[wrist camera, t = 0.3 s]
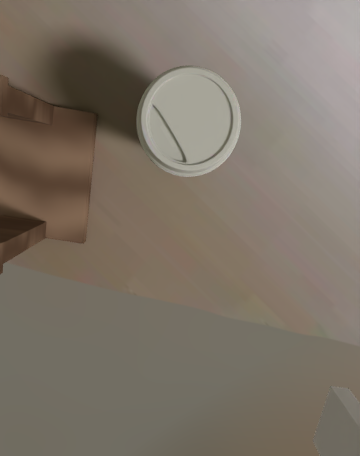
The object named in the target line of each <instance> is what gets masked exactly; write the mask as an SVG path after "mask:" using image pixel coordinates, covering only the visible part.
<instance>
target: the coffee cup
mask: <svg viewBox="0 0 360 456" xmlns="http://www.w3.org/2000/svg"><path fill="white" fill-rule="evenodd" d="M136 126H137V133H138V138H139V141H140V143H141V146H142V148H143V150H144V151H145V153H146V154H147V156H148V157H149V158H150V159H151V161H152V162H153V163H154V164H156V165H157V166H158V167H160V168H161V169H163V170H164V171H166V172H168V173H171V174H174V175H178V176H184V177H192V176H199V175H203V174H206V173H208V172H210V171H212V170H214V169H216V168H217V167H218V166H220V165H221V164H222V163H223V162H224V161H225V160H226V159H227V158H228V157H229V155H230V154H231V152H232V151H233V149H234V147H235V145H236V143H237V140H238V137H239V133H240V127H241V113H240V108H239V104H238V101H237V98H236V96H235V94H234V92H233V90H232V89H231V87H230V86H229V85H228V84H227V83H226V81H225V80H224V79H222V78H221V77H220V76H219V75H217V74H216V73H214V72H212V71H210V70H208V69H206V68H202V67H198V66H180V67H176V68H173V69H170V70H168V71H166V72H164V73H162V74H161V75H159V76H158V77H157V78H156V79H155V80H154V81H152V83H151V84H150V85H149V86H148V87H147V89H146V90H145V92H144V94H143V96H142V98H141V100H140V103H139V106H138V110H137V118H136Z"/></svg>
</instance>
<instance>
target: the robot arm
mask: <svg viewBox="0 0 360 456" xmlns="http://www.w3.org/2000/svg"><path fill="white" fill-rule="evenodd" d="M313 442H314V444H315V446H316V448H317V450H318V452H319V454H320V456H360V403H359V401H358V400H357V399H356V397H355V396H354V395H353V393H352V392H351V391H350V390H349V388H342V387H334V386H330V389H329V392H328V396H327V399H326V402H325V405H324V408H323V411H322V414H321V417H320V420H319V424H318V426H317V429H316V433H315V436H314V439H313Z"/></svg>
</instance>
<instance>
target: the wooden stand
mask: <svg viewBox="0 0 360 456" xmlns="http://www.w3.org/2000/svg"><path fill="white" fill-rule="evenodd" d="M97 116H98V115H97V114H96V113H90V112H84V111H79V110H73V109H67V108H61V107H55V106H52V105H50V104H48V103H46V102H43V101H41V100H39V99H37V98H35V97H32V96H30V95H28V94H26V93H23V92H21V91H19V90H17V89H15V88H12V87H10V86H8V78H7V77H5V76H3V75H0V274H1V273H2V272H3V263H5V262H7V261H8V260H10V259H12V258H13V257H15V256H17V255H18V254H20V253H22V252H23V251H25V250H27V249H28V248H30V247H31V246H33V245H35V244H36V243H38V242H40V241H41V240H43V239H45V238H49V239H56V240H63V241H70V242H76V243H84V242H85V241H86V233H87V222H88V211H89V201H90V190H91V180H92V169H93V158H94V148H95V137H96V127H97Z"/></svg>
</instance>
